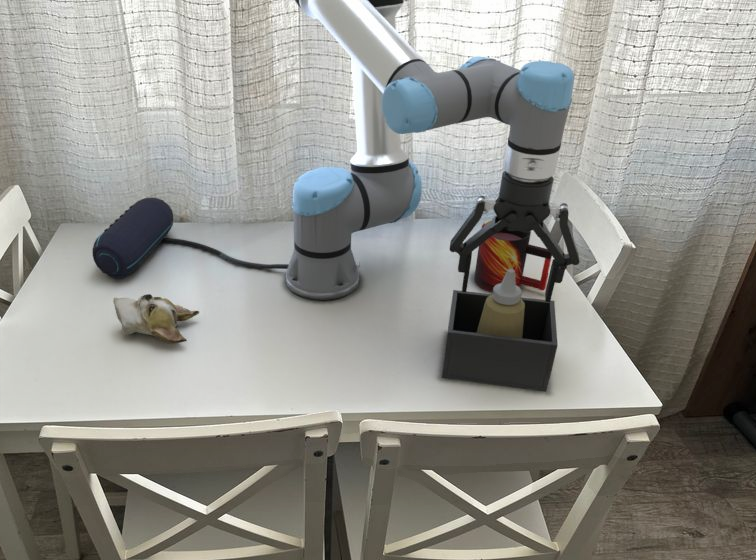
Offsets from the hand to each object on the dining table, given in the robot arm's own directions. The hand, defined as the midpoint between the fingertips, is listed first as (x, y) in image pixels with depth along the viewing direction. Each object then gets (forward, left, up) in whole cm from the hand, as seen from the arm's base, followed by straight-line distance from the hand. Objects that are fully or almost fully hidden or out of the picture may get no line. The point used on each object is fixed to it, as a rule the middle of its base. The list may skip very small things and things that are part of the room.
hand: (505, 292), depth 121 cm
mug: (+2, +28, -15) cm, 32 cm away
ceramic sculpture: (-63, -5, -15) cm, 65 cm away
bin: (0, 0, -14) cm, 14 cm away
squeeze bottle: (0, 0, -14) cm, 14 cm away
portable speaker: (-79, +22, -15) cm, 83 cm away
